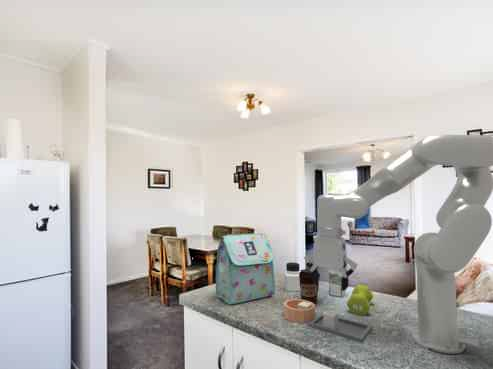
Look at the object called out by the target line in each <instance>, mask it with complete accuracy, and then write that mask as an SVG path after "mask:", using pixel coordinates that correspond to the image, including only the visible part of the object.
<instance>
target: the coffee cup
mask: <svg viewBox="0 0 493 369" xmlns="http://www.w3.org/2000/svg"><path fill="white" fill-rule="evenodd" d="M317 271H318V283H316V284H312V280H311V271H310V269H309V268H305V269H300V271H299V279H300V291H299V292H300V299H302V300H307V301H310V302H312V303H313V304H314V305H315V306H316V305H318V294H319V287H320V286H319V281H320V277H321V274H320V273H319V269H317Z"/></svg>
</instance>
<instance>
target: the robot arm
mask: <svg viewBox="0 0 493 369" xmlns="http://www.w3.org/2000/svg"><path fill="white" fill-rule="evenodd" d="M440 165H441V166H453V168H454V170H455V172H456V182H455V184H454V186H453V188H452V190H451V192H450V193H449V195H448V196H447V198H446V199H445V200H444V202H443V204H442V206H440V208H439V209H438V210H437V211H438V212H437V214H436V216H435V217H436V218H435V221H436V223H437V225H438V227H439V228H440V229H439V231H438V232H425V233H423V234H421V235H420V236H418V237H417V238H416V239H415V242H414V244H413V245H414V246H413V255H414V262H415V271H416V272H415V273H416V295H417V296H416V297H417V302H416V303H417V327H418V328H417V329H415V330H413V331H412V338H413V340H414V341H415V342H416V343H417V344H419V345H421V346H423V347H425V348H427V349H428V350H430V351H435V352H438V353H441V354H450V355H454V354H461V353H463V352H465V349H466V347H465V346H469V347H471V348H476V349H479V340H478V339H474V338H473V336H471V335H465V334H462V333H461V332H460V327H458V317H457V316H458V315H457V314H458V313H457V310H458V309H457V281H456V274H455V273H459V272H461V271H462V270H463V269H464V268H466V267H467V266H468V265H469V264H470V262H471V260H472V259H473V258H474V256H475V255H476V253H477V252H478V251H479V249H480V247H481V246H482V244H483V243H484V241H485V240H486V238H487V237H488V235H489V233H490V231H491V228H492V223H493V221H492V216H491V214H490V213H491V212H489V210H488V209H487V208H486V207H485V206H486V204H487V202H488V200H489V198H491V195H492V193H493V174H492V171H491V167H493V136H492V135H491V136H490V135H484V134H432V135H428V136H425V137H423V138H422V139H420V140H419V141H418V142H416V143H414V144H413V145H411V147H409V148H408V149H406V150H405V151H404V152H402V153H401V154H399V155H398V156H397V157H395V158H394V159H393V160H392V161H390V162H389V163H387V164H386V165H385V166H383V167H382V168H380V169H379V170H378V171H377V172H376V173H375V174H373V176H371V177H370V178H369V179H368V180H366V181H365V182H363V184H361V185H360V186H358V187H357V188H355V189H354V190H353V191H351V192H350V193H349V194H348V195H347V194H346V195H338V194H321V195H319V196H317V203H316V204H317V205H316V206H317V208H316V212H317V218H316V219H317V228H316V229H317V231H316V232H317V234H316V235H315V239H314V243H313V251H312V253H310V254H308V255H305V256H304V257H303V258H304V261H305V263H306V266H307V268H308V269H310V271H311V280H312V284H316V283H318V273H319V268H321V269H327V270H329V269H332V270H339V271H340V273H341V274H342V275H343V277H342V278H341V288H342V291H344V290H345V291H346V290H347V289H348V288H349V281H350V280H349V277H350V276H352V274H353V273H354V272H355V271H356V268H357V267H358V264H357V263H356V262H355V261H353V260H352V259H351V258H349V257H348V255H347V245H346V239H345V237H342V236H345V235H346V234H347V231H346V230H344V229H343V228H342V218H349V219H361V218H363V217H364V216H366V214H367V213H368V211H369V208H370V207H372V206H373V205H374V204H376V203H379V201H381V200H383V199H384V198H386V197H389V196H390V195H393V194H396V193H397V192H399V191H401V190H403V189H405V188H406V187H407V186H409V185H410V184H411V183H412V182H414V181H415V180H416V179H418V178H420V177H421V176H422V175H423V174H425V173H427V172H429V171H430V170H431V169H432V168H434V167H436V166H440ZM311 259H312V262H311ZM348 265H349V266H350V268H349V269H347V267H348ZM317 270H318V271H317Z"/></svg>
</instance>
